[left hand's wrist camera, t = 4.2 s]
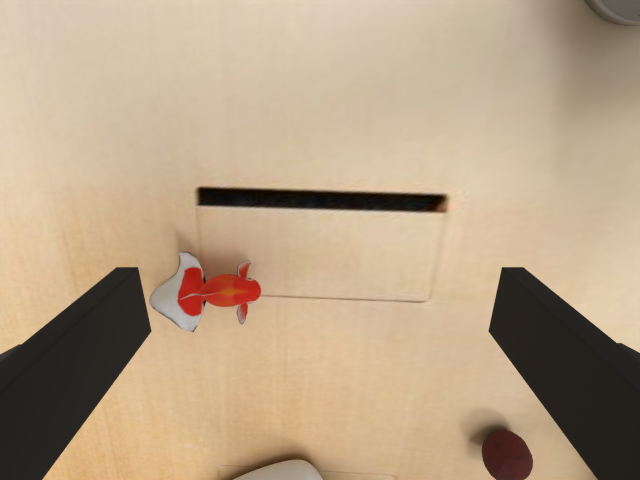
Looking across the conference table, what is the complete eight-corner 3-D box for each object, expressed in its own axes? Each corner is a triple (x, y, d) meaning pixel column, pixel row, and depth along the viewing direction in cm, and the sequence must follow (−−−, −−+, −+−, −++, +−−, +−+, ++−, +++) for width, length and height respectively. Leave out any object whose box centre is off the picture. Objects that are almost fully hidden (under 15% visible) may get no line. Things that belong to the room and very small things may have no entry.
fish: (264, 346, 47) (217, 367, 38) (177, 310, 53) (118, 320, 44) (283, 270, 47) (241, 272, 38) (194, 241, 53) (137, 237, 43)
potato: (470, 451, 61) (488, 493, 55) (481, 418, 58) (501, 458, 52) (511, 454, 61) (534, 496, 55) (524, 421, 59) (550, 461, 52)
